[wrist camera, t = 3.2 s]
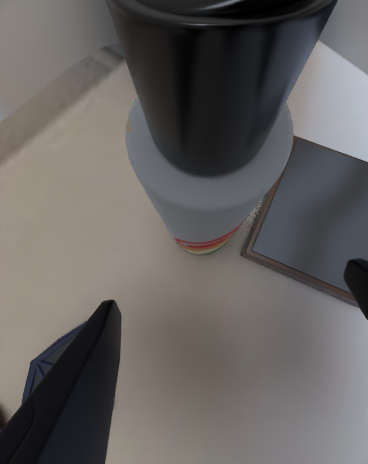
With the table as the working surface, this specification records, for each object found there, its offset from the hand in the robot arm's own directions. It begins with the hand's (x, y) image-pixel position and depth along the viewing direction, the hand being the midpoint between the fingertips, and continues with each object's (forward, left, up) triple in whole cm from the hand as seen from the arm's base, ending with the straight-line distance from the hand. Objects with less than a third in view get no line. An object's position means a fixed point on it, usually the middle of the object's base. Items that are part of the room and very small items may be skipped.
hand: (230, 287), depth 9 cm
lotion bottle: (+3, -4, -13) cm, 14 cm away
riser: (-7, -9, -13) cm, 17 cm away
